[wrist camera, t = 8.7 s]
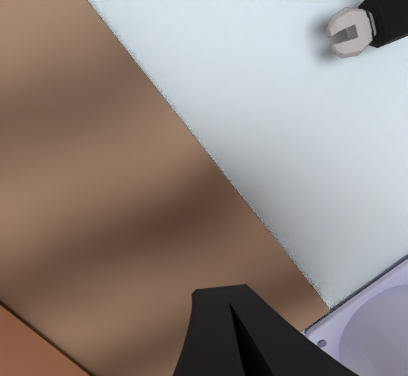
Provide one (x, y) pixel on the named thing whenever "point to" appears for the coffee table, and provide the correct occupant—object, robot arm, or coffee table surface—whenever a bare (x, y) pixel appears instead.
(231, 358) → the robot arm
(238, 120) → the coffee table surface
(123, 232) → the tong board
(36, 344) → the tong arm
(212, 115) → the coffee table surface
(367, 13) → the robot toy
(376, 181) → the coffee table surface
